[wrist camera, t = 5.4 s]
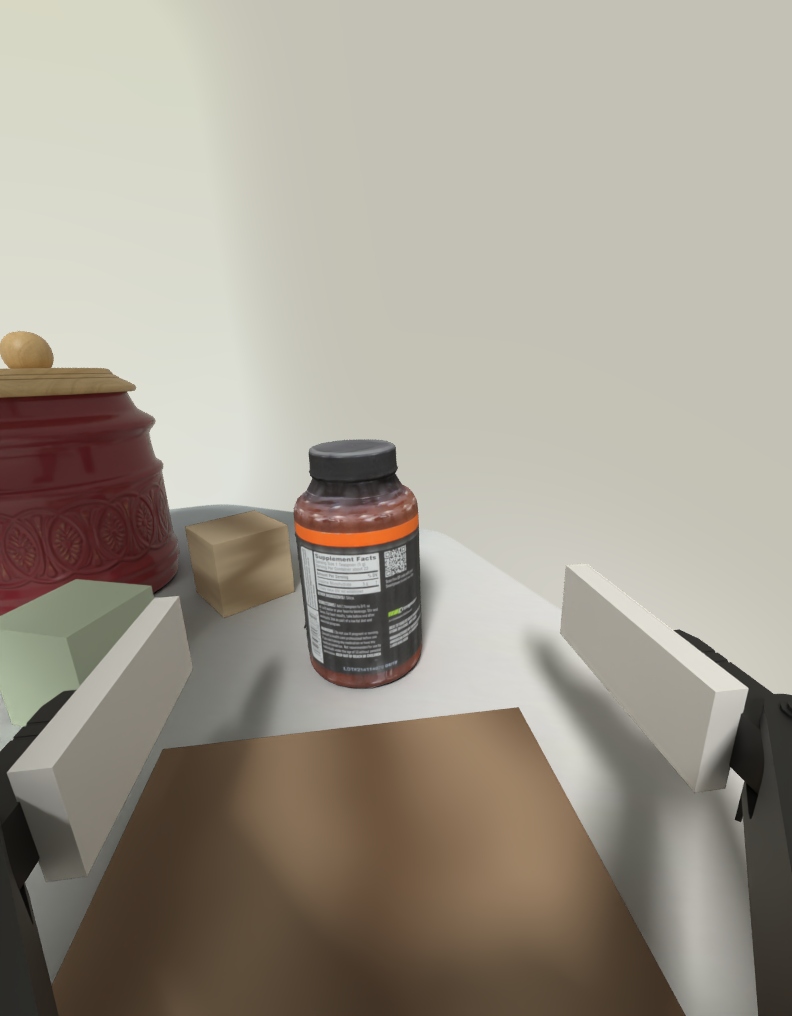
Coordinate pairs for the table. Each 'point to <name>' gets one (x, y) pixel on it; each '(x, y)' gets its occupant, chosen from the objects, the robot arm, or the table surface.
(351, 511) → the supplement bottle
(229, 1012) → the plate
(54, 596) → the sage block
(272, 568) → the beech block
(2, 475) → the canister
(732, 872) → the table surface
